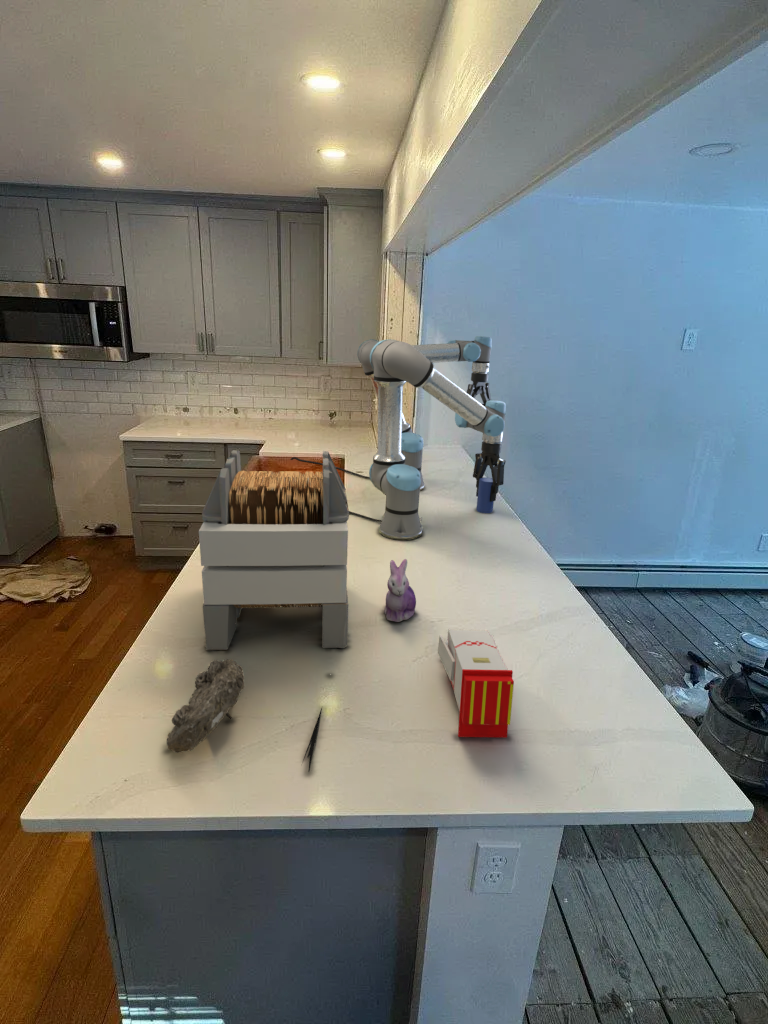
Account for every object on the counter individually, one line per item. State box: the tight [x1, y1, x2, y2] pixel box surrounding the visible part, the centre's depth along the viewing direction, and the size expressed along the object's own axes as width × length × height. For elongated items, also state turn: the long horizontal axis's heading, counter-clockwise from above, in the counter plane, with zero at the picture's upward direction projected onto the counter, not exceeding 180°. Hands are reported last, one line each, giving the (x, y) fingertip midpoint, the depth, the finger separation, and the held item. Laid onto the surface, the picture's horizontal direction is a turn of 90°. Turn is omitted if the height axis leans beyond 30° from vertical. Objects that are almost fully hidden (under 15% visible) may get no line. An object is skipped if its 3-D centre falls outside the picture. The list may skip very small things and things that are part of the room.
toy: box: [437, 628, 515, 738], centre depth 117 cm, size 12×13×30 cm
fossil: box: [166, 658, 245, 754], centre depth 106 cm, size 22×10×15 cm
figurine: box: [384, 558, 417, 623], centre depth 145 cm, size 9×10×15 cm
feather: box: [301, 673, 332, 771], centre depth 108 cm, size 2×28×2 cm
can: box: [475, 476, 495, 514], centre depth 225 cm, size 6×6×13 cm
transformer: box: [198, 449, 350, 651], centre depth 138 cm, size 34×33×41 cm
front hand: (485, 498), depth 226 cm, fingers closed on can, 6 cm apart
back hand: (475, 419), depth 261 cm, fingers open, 13 cm apart
